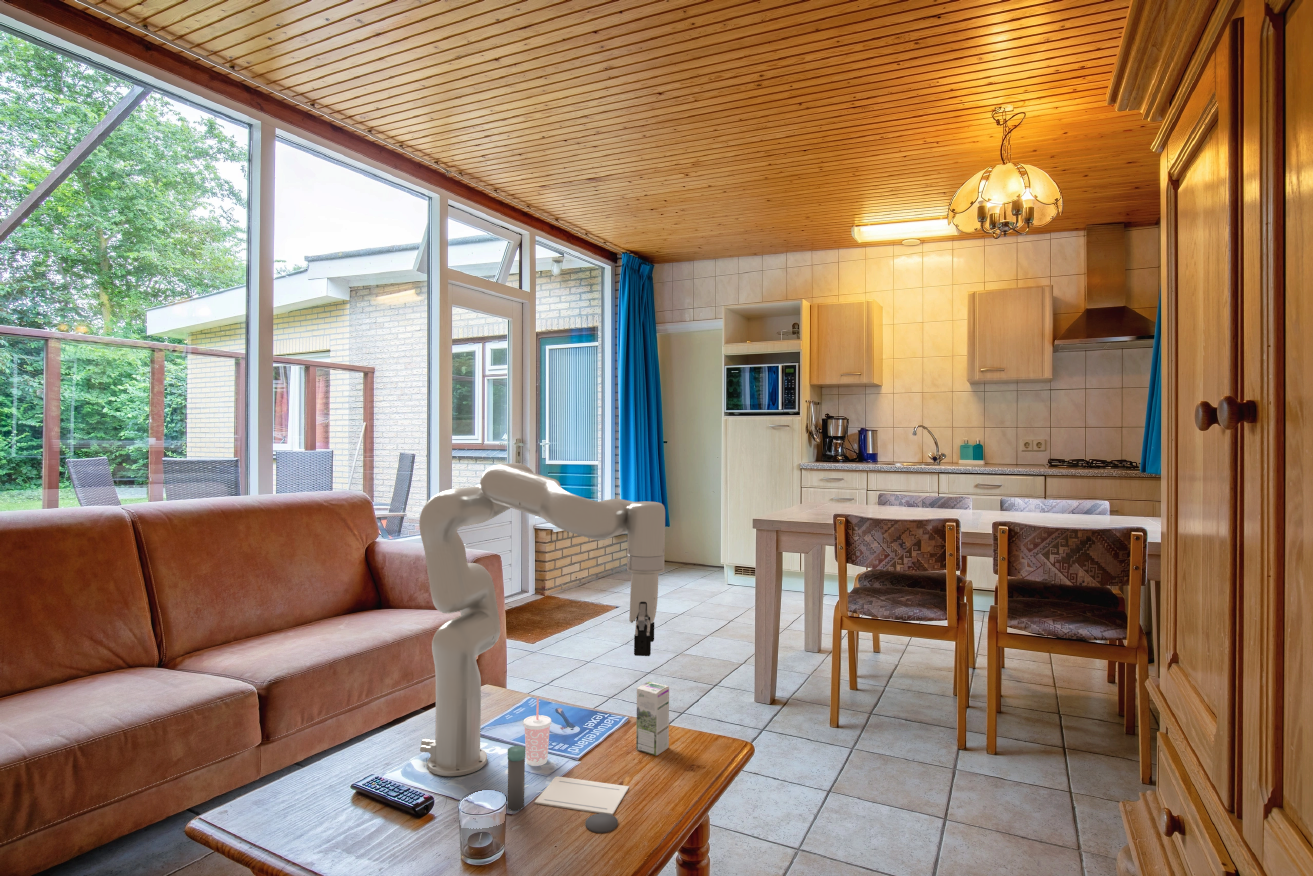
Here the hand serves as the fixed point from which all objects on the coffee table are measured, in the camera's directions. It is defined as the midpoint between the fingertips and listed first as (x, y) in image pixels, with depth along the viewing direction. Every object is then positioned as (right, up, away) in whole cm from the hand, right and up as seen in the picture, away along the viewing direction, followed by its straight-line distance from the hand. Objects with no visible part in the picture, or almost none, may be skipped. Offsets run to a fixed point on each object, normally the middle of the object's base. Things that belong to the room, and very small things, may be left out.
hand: (644, 648), depth 144 cm
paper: (-12, -29, -1) cm, 32 cm away
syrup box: (+2, -30, +21) cm, 36 cm away
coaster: (-8, -29, -12) cm, 32 cm away
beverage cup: (-24, -29, +14) cm, 40 cm away
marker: (-25, -29, -6) cm, 39 cm away
